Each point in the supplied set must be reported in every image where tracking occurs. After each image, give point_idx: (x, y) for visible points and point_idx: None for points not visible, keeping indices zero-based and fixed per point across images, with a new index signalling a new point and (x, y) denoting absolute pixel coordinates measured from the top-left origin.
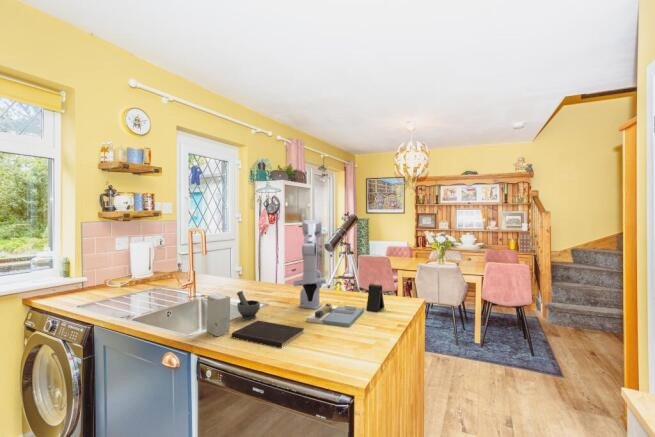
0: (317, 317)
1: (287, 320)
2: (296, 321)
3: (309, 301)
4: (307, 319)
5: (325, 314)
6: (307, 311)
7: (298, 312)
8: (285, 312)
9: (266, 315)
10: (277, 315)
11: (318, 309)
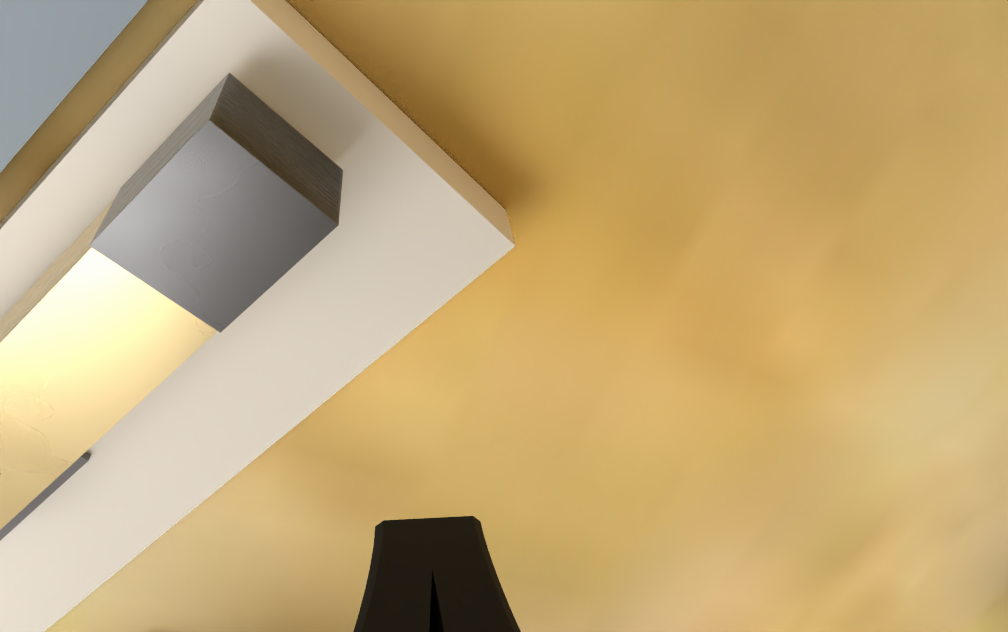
0: None
1: (765, 364)
2: (665, 274)
3: (472, 519)
4: (495, 213)
5: None
6: (310, 595)
7: None
8: (620, 627)
9: (880, 596)
10: (768, 566)
11: (128, 562)
